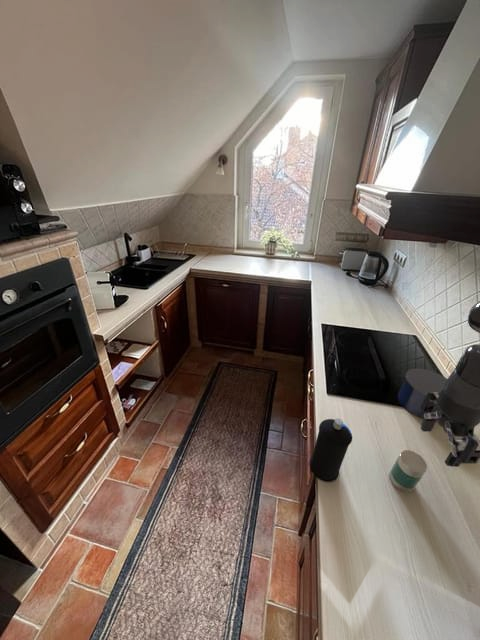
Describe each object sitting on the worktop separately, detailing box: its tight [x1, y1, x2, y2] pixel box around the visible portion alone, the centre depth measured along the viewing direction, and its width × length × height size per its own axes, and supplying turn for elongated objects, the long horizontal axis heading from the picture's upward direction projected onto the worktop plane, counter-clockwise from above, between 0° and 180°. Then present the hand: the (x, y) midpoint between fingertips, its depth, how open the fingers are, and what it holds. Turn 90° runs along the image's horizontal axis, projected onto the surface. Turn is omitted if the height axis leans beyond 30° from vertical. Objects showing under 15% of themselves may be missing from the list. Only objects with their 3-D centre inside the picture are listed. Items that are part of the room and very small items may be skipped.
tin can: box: [388, 449, 428, 493], centre depth 68 cm, size 6×6×10 cm
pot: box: [397, 368, 448, 421], centre depth 92 cm, size 16×18×10 cm
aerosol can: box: [309, 417, 353, 483], centre depth 68 cm, size 8×8×20 cm
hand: (436, 446), depth 58 cm, fingers open, 8 cm apart
